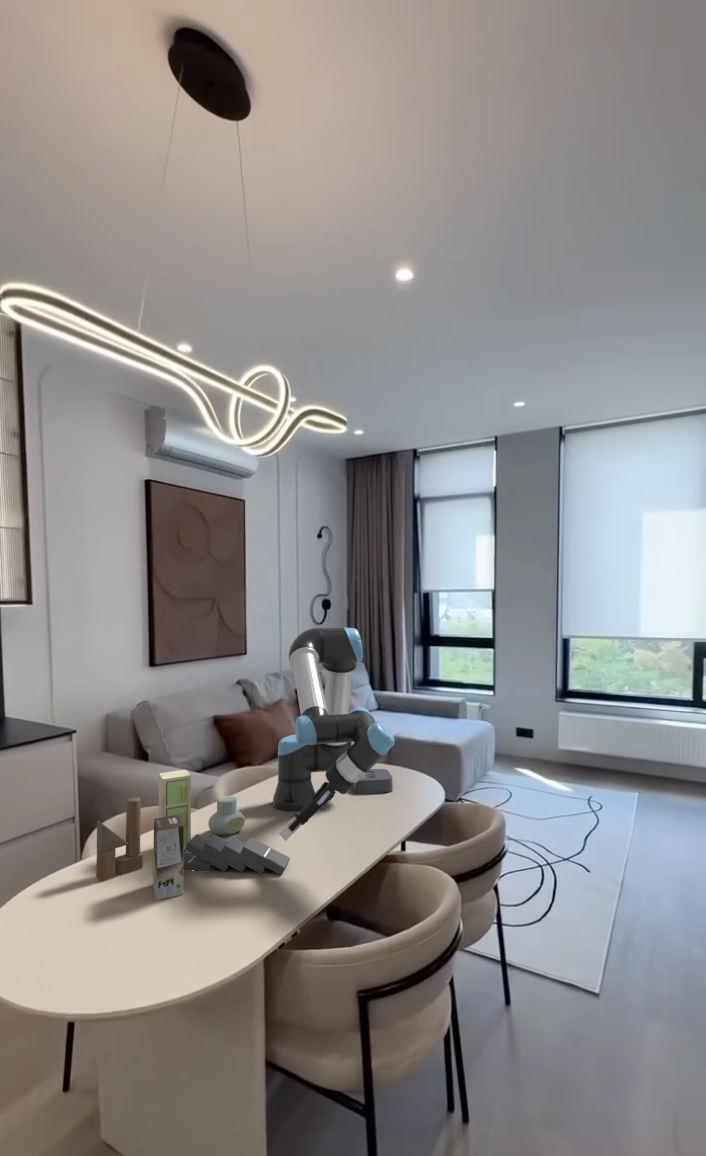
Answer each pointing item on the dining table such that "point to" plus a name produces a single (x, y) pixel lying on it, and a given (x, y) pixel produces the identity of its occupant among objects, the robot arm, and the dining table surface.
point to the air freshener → (226, 817)
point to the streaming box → (374, 782)
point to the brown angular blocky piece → (120, 845)
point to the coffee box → (168, 856)
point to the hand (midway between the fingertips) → (282, 836)
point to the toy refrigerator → (176, 798)
